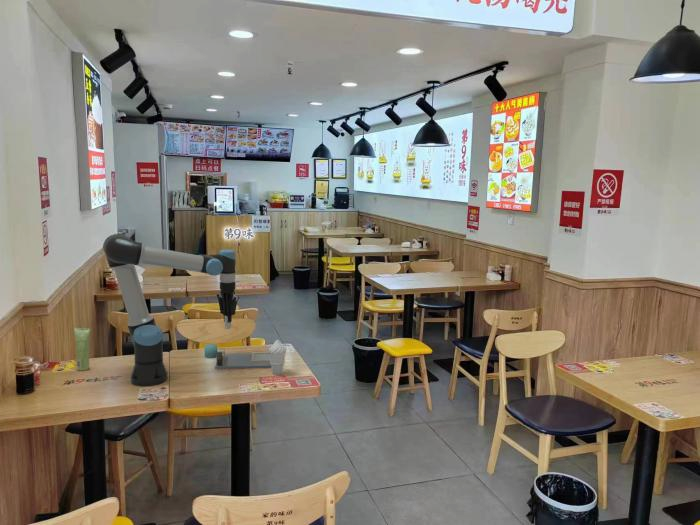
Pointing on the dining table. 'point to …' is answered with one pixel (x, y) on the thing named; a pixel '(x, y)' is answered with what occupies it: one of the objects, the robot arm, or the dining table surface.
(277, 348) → the soft serve ice cream cone
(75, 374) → the dining table surface
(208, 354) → the teal egg shape
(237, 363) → the jig board
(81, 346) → the tube
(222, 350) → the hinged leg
